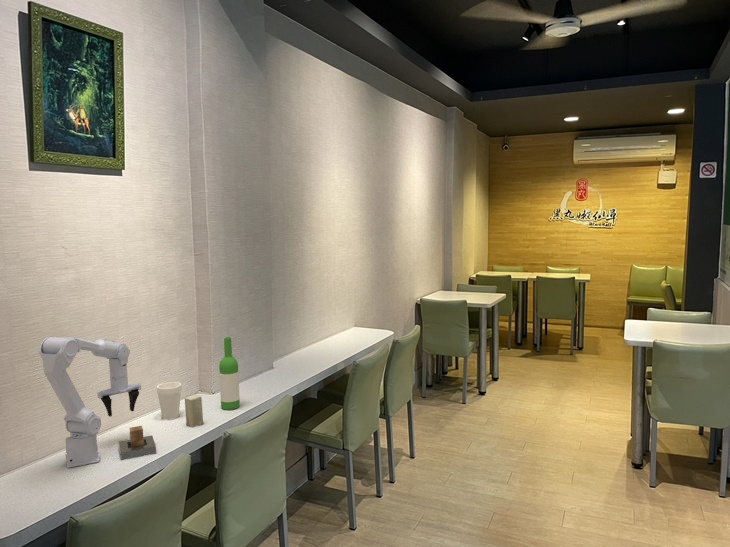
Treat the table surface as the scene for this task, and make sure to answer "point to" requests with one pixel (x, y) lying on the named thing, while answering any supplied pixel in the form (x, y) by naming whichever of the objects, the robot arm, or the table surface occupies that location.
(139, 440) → the peg
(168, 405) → the foam cup
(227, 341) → the wine bottle
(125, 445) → the collar
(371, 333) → the table surface
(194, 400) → the box
